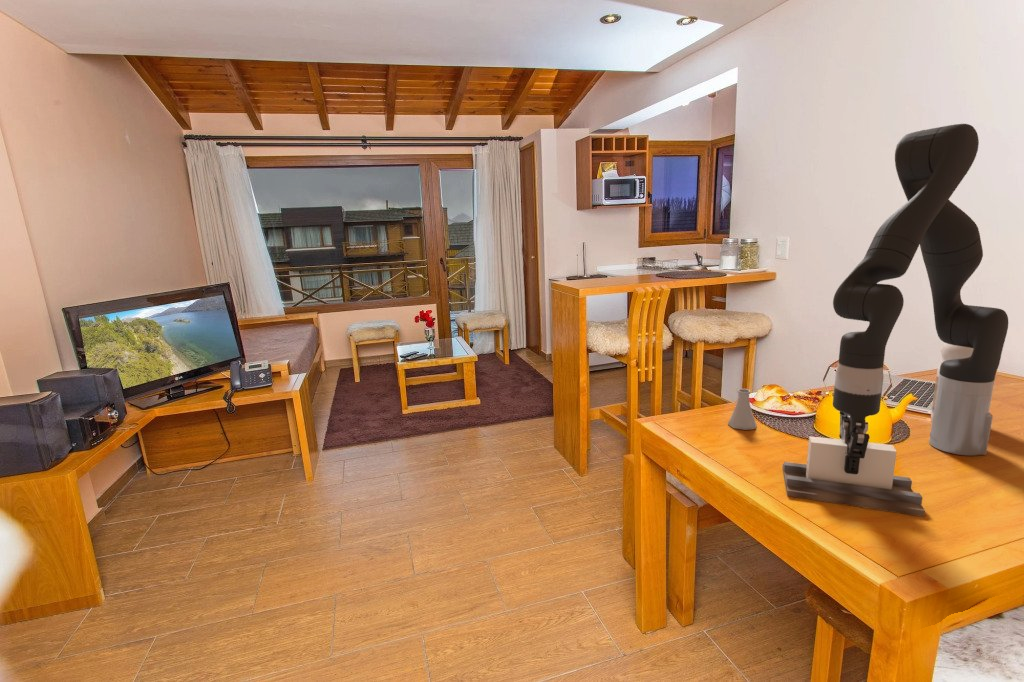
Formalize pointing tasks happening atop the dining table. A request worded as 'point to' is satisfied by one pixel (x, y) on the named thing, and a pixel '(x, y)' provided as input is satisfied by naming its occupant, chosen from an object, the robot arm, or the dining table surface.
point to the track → (854, 499)
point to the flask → (742, 412)
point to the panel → (830, 463)
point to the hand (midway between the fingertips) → (848, 467)
